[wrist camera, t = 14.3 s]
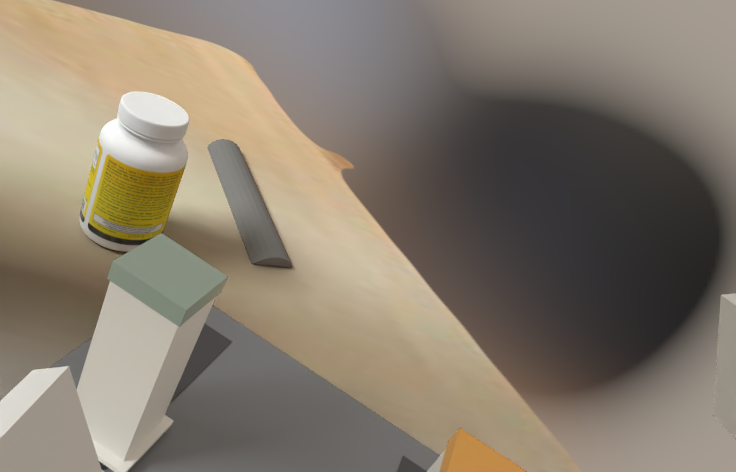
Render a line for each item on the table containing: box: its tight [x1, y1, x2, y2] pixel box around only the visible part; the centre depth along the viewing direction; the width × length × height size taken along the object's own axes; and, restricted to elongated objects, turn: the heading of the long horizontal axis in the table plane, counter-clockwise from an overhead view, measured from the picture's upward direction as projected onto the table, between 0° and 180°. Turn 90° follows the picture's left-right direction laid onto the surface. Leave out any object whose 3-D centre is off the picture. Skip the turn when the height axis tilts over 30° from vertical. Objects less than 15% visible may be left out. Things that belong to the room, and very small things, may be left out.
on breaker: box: [77, 233, 228, 472], centre depth 28 cm, size 4×4×11 cm
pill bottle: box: [79, 92, 189, 252], centre depth 44 cm, size 6×6×11 cm
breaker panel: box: [50, 305, 440, 472], centre depth 34 cm, size 16×26×2 cm, turn 70°
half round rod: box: [207, 139, 292, 267], centre depth 58 cm, size 4×20×2 cm, turn 26°
